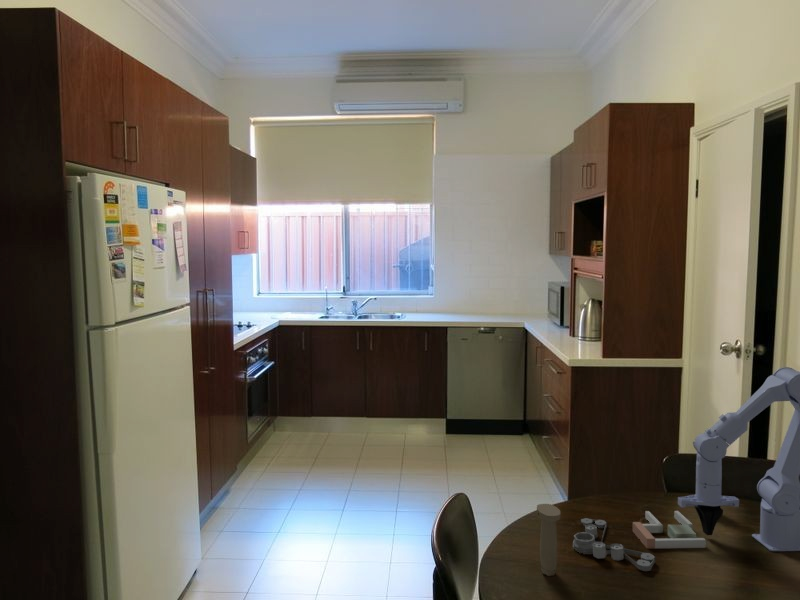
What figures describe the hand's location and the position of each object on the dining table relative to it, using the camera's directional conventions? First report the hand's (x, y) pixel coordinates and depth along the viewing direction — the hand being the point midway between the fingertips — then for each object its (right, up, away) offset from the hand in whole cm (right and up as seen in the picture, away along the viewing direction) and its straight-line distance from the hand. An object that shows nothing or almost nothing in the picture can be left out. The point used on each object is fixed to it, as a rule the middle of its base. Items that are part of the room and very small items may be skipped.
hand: (707, 533), depth 145 cm
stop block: (-16, -2, 0) cm, 16 cm away
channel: (-9, -1, +4) cm, 9 cm away
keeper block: (-7, -2, 0) cm, 7 cm away
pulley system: (-28, -3, -3) cm, 28 cm away
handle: (-44, -3, -14) cm, 47 cm away
